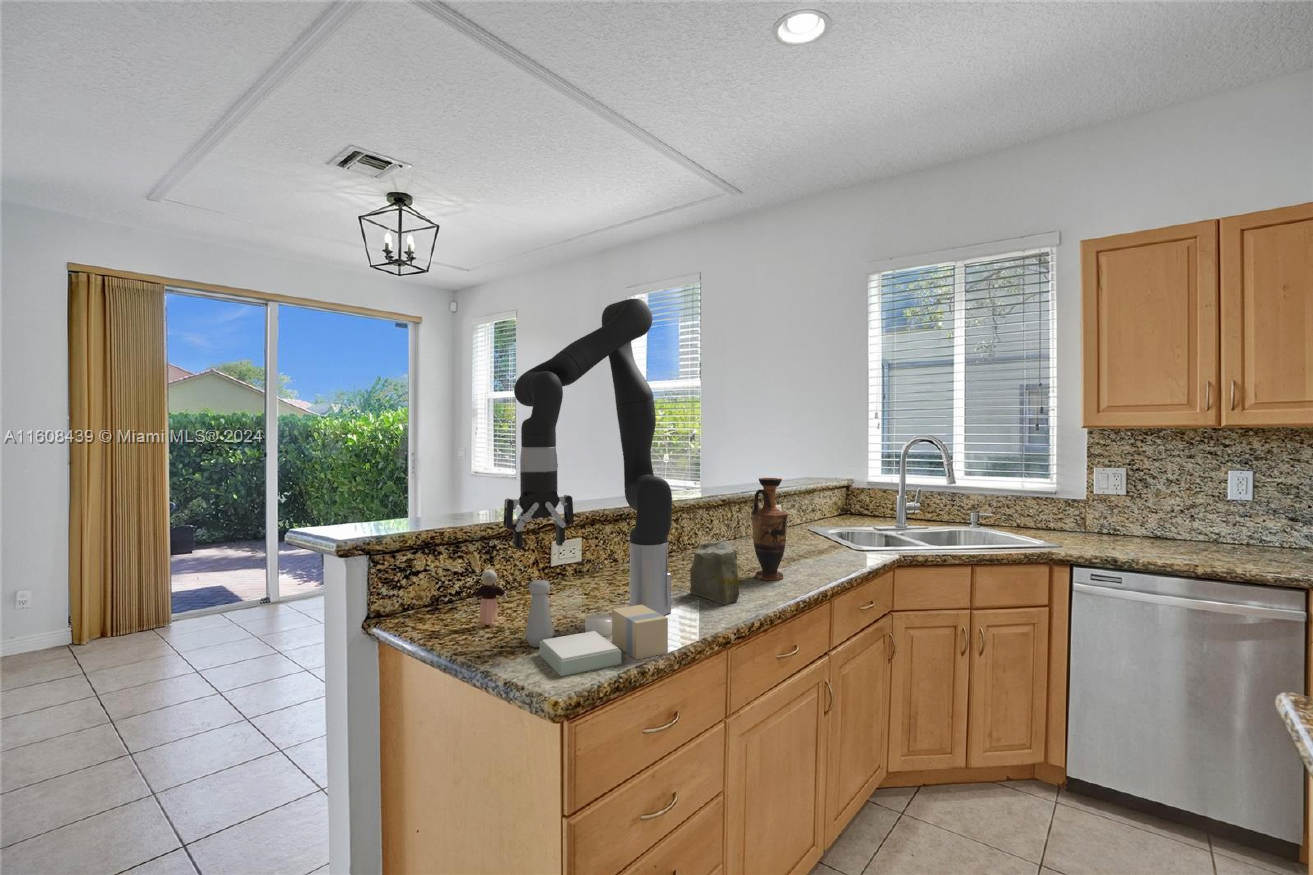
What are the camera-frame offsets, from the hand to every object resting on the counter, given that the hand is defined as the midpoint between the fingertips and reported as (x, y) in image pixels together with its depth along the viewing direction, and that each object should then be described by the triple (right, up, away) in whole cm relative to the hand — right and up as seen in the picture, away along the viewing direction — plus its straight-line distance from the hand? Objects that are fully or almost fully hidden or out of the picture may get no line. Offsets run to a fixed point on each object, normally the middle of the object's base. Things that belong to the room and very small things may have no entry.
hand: (539, 547), depth 126 cm
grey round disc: (+12, -20, +8) cm, 24 cm away
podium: (+9, -20, -8) cm, 24 cm away
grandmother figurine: (-14, -20, +12) cm, 27 cm away
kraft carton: (+21, -20, -2) cm, 29 cm away
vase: (+58, -20, +58) cm, 84 cm away
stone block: (+41, -20, +37) cm, 59 cm away
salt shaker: (0, -20, 0) cm, 20 cm away
